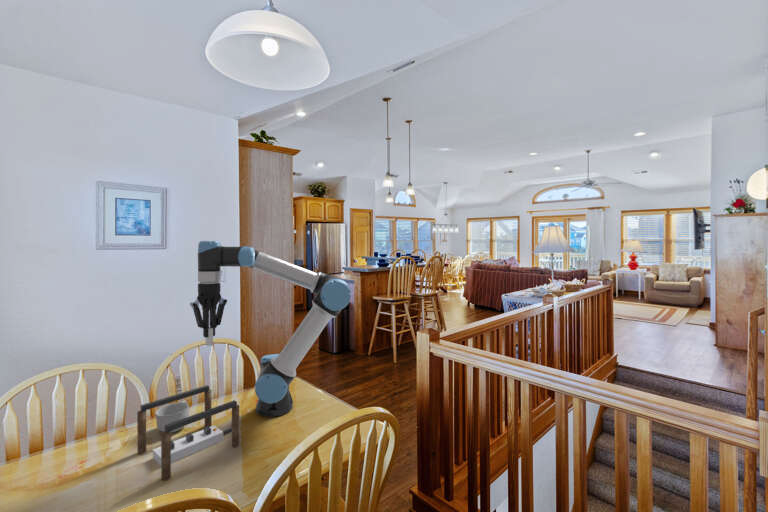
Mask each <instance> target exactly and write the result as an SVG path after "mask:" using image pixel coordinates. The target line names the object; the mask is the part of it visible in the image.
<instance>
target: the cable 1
mask: <svg viewBox="0 0 768 512" xmlns="http://www.w3.org/2000/svg"><path fill="white" fill-rule="evenodd" d="M209 389H210V385H207V384H206V385H202V386H200V387H197V388H193V389H190V390H187V391H184V392H180V393H177V394H173V395H169V396H167V397H163V398H160V399H157V400H154V401H150V402H146V403H143V404H141V405H140V410H142V411H145V410H146V411H149V410H152V409H154V408H157V407H161V406H165V405H169V404H172V403H174V402H177V401H179V400H180V401H181V400H183V399H186V398H190V397H192V396H193V397H194V396H195V395H200V394H202V393H205V391H209Z"/></svg>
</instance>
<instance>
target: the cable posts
mask: <svg viewBox="0 0 768 512" xmlns="http://www.w3.org/2000/svg"><path fill="white" fill-rule="evenodd" d="M212 392H213V390H212V389H210V388H209V391H205V392H204V411H206V410H209V409H212V408H213V407H212V405H213V404H212V402H213V401H212V395H213V394H212ZM212 418H213V415H212V416H209V417H207V418H204V427H207V426H208V427H211V426H213V425H212V422H213V421H212ZM136 419H137V427H136V428H137V455H144V454H145V452H147V410H145V411H142V410H141V409H140V410H138V411H137V418H136ZM231 427H232V432H231V447H232V449H234V448H237V447H239V446H240V405H239V404H237V406H236V407H233V408H231ZM171 434H172V433H171V431H169V432H166V431H163V432H162V431H161V434H160V442H161V443H160V445H161V446H160V447H161V467H160V468H161V470H160V472H161V473H160V474H161V481H165V482H166V481H168V480H170V479H171V477H172V474H171V473H172V469H171V468H172V466H171V464H172V463H171V441H172V435H171Z"/></svg>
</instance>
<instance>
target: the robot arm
mask: <svg viewBox="0 0 768 512" xmlns="http://www.w3.org/2000/svg"><path fill="white" fill-rule="evenodd" d="M197 245H198V247H197V281H198V284H197V297H196V299H195V301H193V302H190V304H189V305H190V307H191V308H192V309H193V315H194V316H195V321H196V325H197V327H198V328H201V329H202V330H203V333H202V336H203V338H205V346H207V347H212V346H214V337H215V336H216V328H217V327H218V326H220V325H221V322H222V319H223V314H224V311H225V307H226V305H227V304H228V299H225V298H223V297H222V295H221V283H220V282H221V268H222V267H224V268H225V267H239V268H241V267H242V268H246V267H248V268H251V269H254V270H256V271H259V272H263V273H264V274H267V275H269V276H270V275H271V276H272V277H275V278H278V279H280V280H281V279H282V280H284V281H286V282H289V283H292V284H294V285H297V286H300V287H303V288H305V289H308V290H309V291H310V292H311V294H314V295H315V296H314V297H313V298H312V300H311V302H312V307H311V308H310V310H309V312H307V314H306V315H305V317H304V318H303V320H302V321H301V322H300V324H299V325H298V327H297V328H296V330H295V331H294V332H293V334H292V336H290V338H289V340H288V341H287V343H286V344H285V345H284V347H283V348H282V350H281V351H280V353H274V354H266V355H263V356H262V357H261V358H260V371H259V374H258V376H257V379H256V381H255V383H254V392H255V396H256V397H257V398H258V399H257V401H256V402H257V403H256V404H255V406H256V407H255V410H256V411H255V412H256V414H257V415H258V416H262V417H265V418H266V417H267V418H272V417H273V418H274V417H279V416H282V415H283V416H284V415H285V414H289V411H290V410H291V409H292V410H293V408H294V400H293V397H292V394H291V391H290V385H291V384H292V382H293V380H294V379H295V377H296V376H297V371H296V369H297V368H298V366H299V365H300V363H301V362H302V360H303V359H304V357H305V356H306V355H307V353H308V352H309V350H310V349H311V348H312V346H313V345H314V344H315V342H316V340H317V339H318V337H319V336H320V335H321V333H322V331H323V330H324V329H325V328H326V326H327V325H328V323H329V321H331V319H333V318H337V316H338V315H339V314H340V312H341V311H342V310H343V309H345V308H346V307H347V306H348V305H349V303H350V302H351V298H352V290H351V287H350V285H349V284H348V283H347V282H346V281H345V280H344V279H343V278H341V277H339V276H335V275H331V274H327V273H324V272H322V271H318V272H315V271H312V270H311V269H310V270H309V269H307V268H304V267H301V266H299V265H296V264H294V263H291V262H288V261H285V260H283V259H281V258H278V257H275V256H273V255H270V254H267V253H264V252H262V251H258V250H257V249H255V248H254V247H252V246H249V245H239V246H224V245H223V246H222V244H221V242H220V241H217V240H216V241H215V240H200V241H199V242H198V244H197ZM200 306H201V309H200ZM201 310H202V313H201ZM292 410H291V411H292ZM291 411H290V412H291Z"/></svg>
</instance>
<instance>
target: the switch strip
mask: <svg viewBox="0 0 768 512" xmlns="http://www.w3.org/2000/svg"><path fill="white" fill-rule="evenodd" d="M230 433H232V426H231V427H228V428H227V429H224V430H221V429H219V428H218V427H217V426H216V425H212V426H211V427H208V426H207V427H205V426H204V427H203V429H201V430H199V431H196V432H193V433H191V432H190V433H186V434H185V436H184V437H180V438H179V439H176V440H173V441H172V440H171V464H173V463H174V462H177V461H179V460H181V459H184V458H186V457H188V456H191V455H193V454H195V453H197V452H201V451H202V450H204V449H207V448H209V447H210V446H213V445H215V444H218V443H220V442H222V441H224V436H225V435H228V434H230ZM152 459H153V460H154V461H155V463H156V464H157V465H158V466H159V467H160V468H161V446H159V447H157V448H154V449H152Z"/></svg>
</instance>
